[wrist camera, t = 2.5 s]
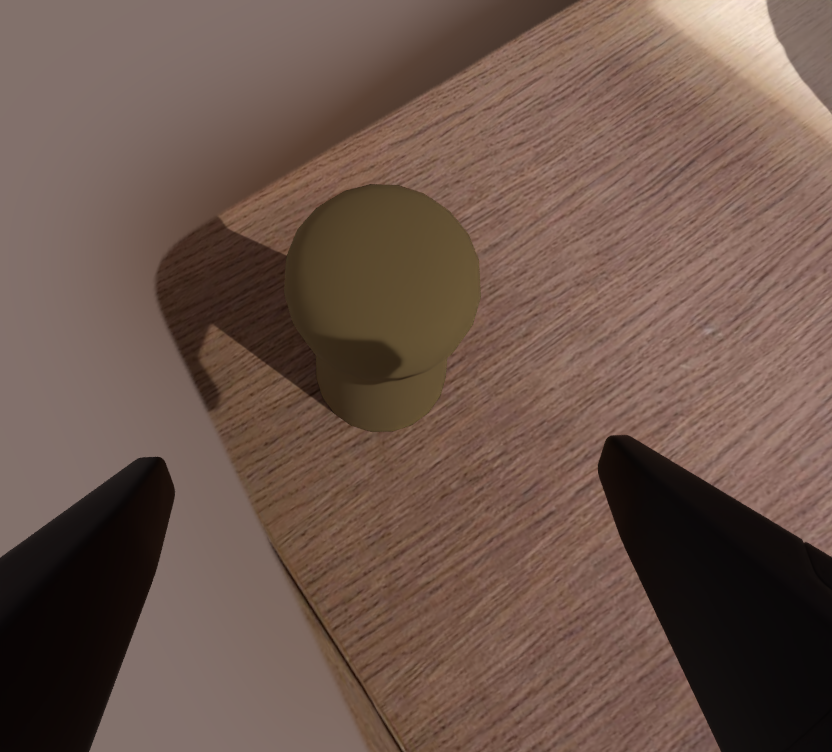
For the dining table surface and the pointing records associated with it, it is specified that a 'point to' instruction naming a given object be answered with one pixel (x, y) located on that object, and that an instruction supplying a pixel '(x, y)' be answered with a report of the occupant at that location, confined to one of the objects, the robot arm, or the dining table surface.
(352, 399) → the cork
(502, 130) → the dining table surface
